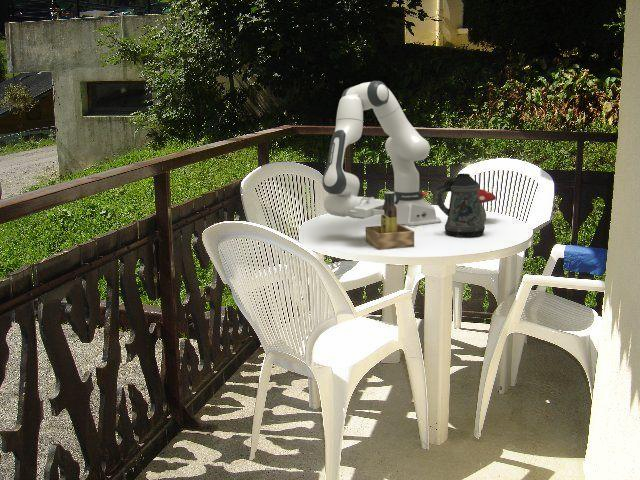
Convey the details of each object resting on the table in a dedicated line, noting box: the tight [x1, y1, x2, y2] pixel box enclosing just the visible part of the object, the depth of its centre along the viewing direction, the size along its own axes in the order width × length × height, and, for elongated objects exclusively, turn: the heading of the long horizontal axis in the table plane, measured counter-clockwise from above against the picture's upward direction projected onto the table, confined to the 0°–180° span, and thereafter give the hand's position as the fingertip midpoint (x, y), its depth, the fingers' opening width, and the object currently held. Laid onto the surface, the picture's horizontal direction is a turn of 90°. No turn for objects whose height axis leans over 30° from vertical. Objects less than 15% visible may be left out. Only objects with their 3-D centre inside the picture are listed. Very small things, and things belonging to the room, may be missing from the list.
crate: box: [364, 224, 415, 251], centre depth 307 cm, size 15×15×6 cm
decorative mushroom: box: [478, 188, 497, 223], centre depth 347 cm, size 16×16×15 cm
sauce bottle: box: [380, 191, 398, 234], centre depth 305 cm, size 7×6×20 cm
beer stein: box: [435, 173, 486, 239], centre depth 321 cm, size 16×19×25 cm
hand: (390, 210), depth 305 cm, fingers open, 8 cm apart
